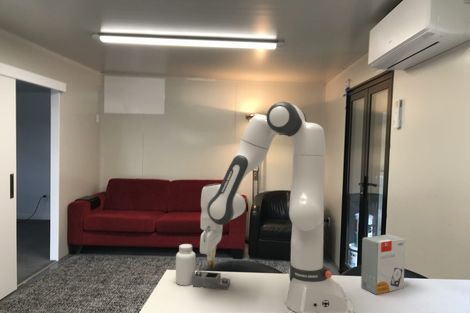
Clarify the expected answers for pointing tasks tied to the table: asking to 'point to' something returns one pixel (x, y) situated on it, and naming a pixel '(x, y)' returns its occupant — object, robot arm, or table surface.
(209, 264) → the pin
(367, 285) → the hard drive box
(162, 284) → the table surface
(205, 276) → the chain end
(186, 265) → the pill bottle
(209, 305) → the table surface
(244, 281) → the table surface
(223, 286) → the chain end
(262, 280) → the table surface
